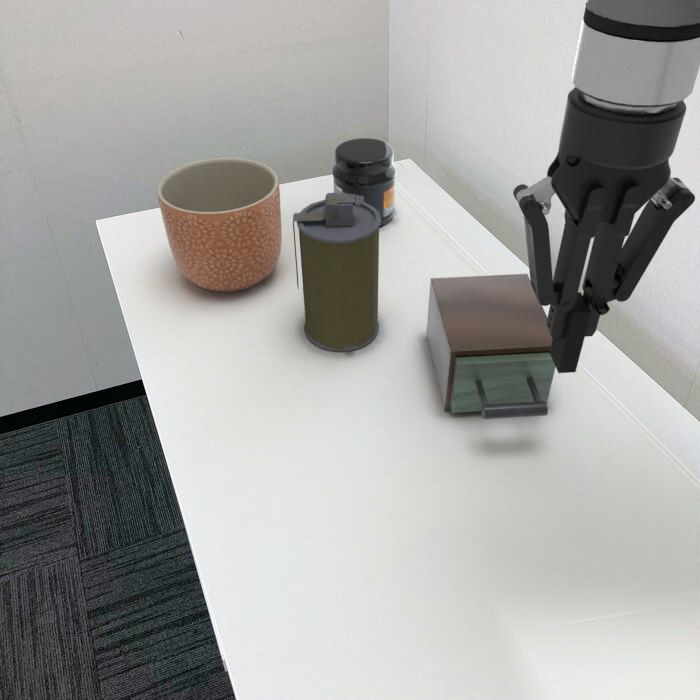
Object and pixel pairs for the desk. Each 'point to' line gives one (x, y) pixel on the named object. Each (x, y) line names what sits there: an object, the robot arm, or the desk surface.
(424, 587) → the desk surface
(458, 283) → the drawer cabinet
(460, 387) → the green drawer
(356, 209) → the canister
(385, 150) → the supplement container
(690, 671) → the desk surface
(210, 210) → the planter
